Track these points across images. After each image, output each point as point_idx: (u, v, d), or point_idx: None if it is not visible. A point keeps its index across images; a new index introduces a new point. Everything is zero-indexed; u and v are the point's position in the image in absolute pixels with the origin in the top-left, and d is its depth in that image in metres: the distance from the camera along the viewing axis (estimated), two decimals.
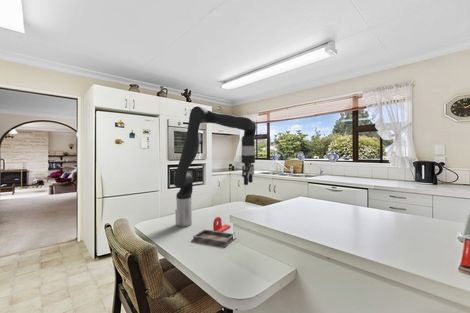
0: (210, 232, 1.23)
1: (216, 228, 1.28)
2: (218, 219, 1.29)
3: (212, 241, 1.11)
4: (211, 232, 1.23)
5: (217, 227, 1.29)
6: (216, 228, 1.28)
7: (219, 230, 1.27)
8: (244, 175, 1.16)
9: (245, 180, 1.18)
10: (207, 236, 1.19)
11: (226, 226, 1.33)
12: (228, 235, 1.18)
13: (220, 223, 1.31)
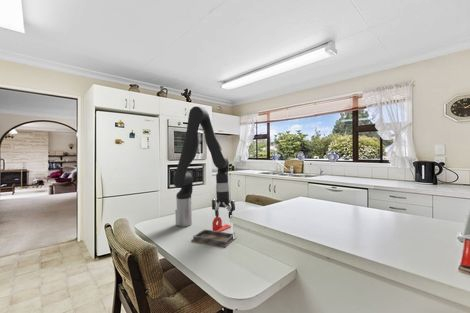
0: (210, 232, 1.23)
1: (215, 228, 1.29)
2: (218, 219, 1.31)
3: (212, 241, 1.11)
4: (211, 232, 1.23)
5: (216, 227, 1.30)
6: (216, 227, 1.30)
7: (218, 230, 1.28)
8: (234, 209, 1.28)
9: (231, 214, 1.28)
10: (207, 236, 1.19)
11: (226, 226, 1.34)
12: (228, 235, 1.18)
13: (220, 223, 1.33)
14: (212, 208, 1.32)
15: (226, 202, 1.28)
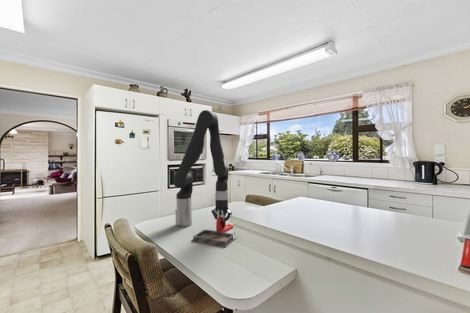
0: (210, 232, 1.23)
1: (219, 227, 1.28)
2: (221, 218, 1.30)
3: (212, 241, 1.11)
4: (211, 232, 1.23)
5: (220, 226, 1.29)
6: (219, 227, 1.29)
7: (222, 229, 1.27)
8: None
9: (225, 223, 1.30)
10: (207, 236, 1.19)
11: (229, 226, 1.34)
12: (228, 235, 1.18)
13: None
14: (215, 218, 1.31)
15: (225, 212, 1.29)
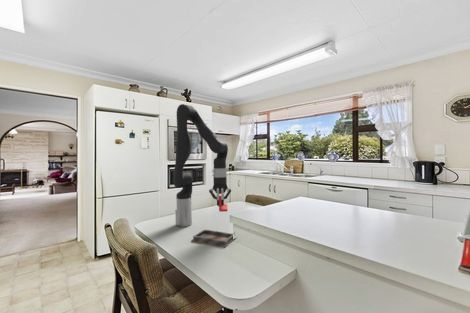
0: (210, 232, 1.23)
1: (221, 207, 1.24)
2: None
3: (212, 241, 1.11)
4: (211, 232, 1.23)
5: None
6: None
7: (224, 208, 1.24)
8: (226, 196, 1.27)
9: (223, 201, 1.27)
10: (207, 236, 1.19)
11: (224, 205, 1.31)
12: (228, 235, 1.18)
13: None
14: (214, 198, 1.25)
15: (224, 190, 1.25)
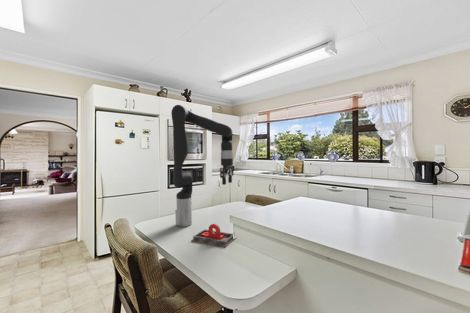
0: None
1: None
2: None
3: (212, 241, 1.11)
4: None
5: None
6: None
7: (220, 235, 1.17)
8: None
9: None
10: None
11: (208, 233, 1.21)
12: (228, 235, 1.18)
13: None
14: (224, 176, 1.32)
15: (230, 168, 1.41)
